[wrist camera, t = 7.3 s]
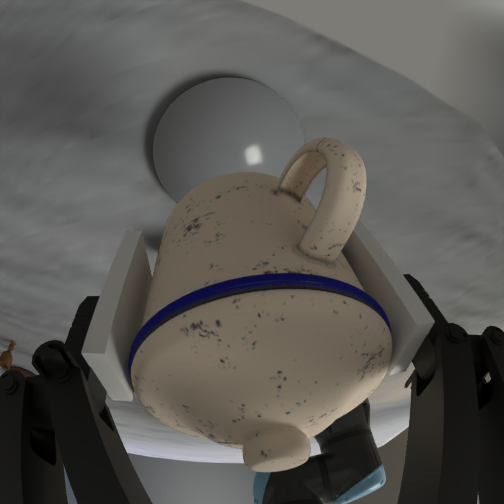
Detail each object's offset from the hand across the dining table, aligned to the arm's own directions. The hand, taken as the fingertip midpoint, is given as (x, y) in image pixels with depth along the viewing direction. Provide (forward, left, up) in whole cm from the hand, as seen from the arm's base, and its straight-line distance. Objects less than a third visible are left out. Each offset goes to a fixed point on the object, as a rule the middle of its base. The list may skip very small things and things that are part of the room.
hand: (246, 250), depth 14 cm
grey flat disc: (0, 0, -17) cm, 17 cm away
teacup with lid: (0, -1, -3) cm, 3 cm away
